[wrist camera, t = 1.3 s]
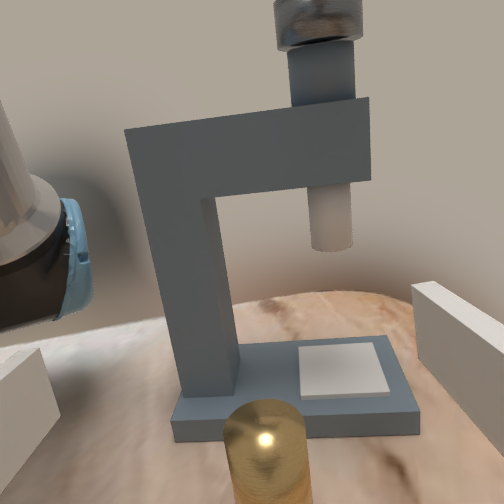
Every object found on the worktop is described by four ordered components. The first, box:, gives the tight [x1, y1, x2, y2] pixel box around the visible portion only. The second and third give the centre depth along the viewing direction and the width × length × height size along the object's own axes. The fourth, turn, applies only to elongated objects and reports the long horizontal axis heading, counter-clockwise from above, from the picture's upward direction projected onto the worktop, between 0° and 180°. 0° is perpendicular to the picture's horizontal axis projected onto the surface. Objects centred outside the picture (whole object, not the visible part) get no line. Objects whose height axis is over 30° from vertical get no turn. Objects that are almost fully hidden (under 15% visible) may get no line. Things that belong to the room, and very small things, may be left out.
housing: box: [223, 399, 313, 504], centre depth 26 cm, size 5×5×10 cm
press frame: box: [124, 40, 420, 442], centre depth 36 cm, size 22×12×32 cm, turn 85°
